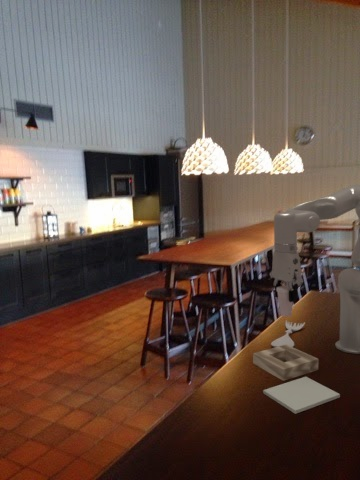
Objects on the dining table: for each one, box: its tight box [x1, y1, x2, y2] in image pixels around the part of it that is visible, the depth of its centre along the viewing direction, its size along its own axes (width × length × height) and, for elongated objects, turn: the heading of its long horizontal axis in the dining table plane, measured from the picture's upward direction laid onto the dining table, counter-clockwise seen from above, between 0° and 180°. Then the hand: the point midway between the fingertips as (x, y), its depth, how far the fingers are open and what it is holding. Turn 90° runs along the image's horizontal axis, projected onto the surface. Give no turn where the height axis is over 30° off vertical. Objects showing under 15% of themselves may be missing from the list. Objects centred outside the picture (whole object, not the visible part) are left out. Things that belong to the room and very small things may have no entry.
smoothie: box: [276, 282, 294, 317], centre depth 145 cm, size 6×6×14 cm
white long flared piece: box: [270, 319, 306, 348], centre depth 176 cm, size 9×32×4 cm, turn 154°
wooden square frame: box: [252, 344, 319, 381], centre depth 148 cm, size 16×16×4 cm
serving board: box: [262, 376, 341, 415], centre depth 128 cm, size 18×14×1 cm
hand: (285, 298), depth 145 cm, fingers closed on smoothie, 6 cm apart
